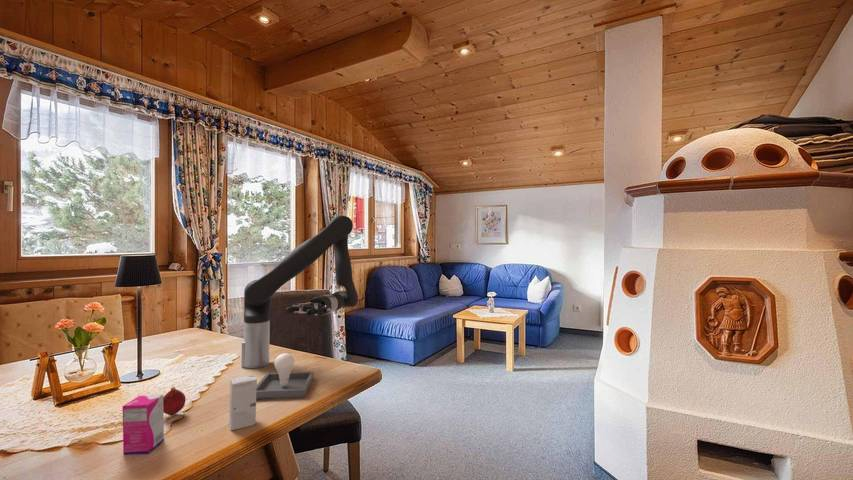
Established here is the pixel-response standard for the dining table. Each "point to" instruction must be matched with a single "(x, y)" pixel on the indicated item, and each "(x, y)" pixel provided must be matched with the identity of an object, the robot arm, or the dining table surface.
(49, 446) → the dining table surface
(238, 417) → the skincare box
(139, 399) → the supplement box
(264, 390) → the parts tray
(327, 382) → the dining table surface
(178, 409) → the onion
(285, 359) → the lightbulb
